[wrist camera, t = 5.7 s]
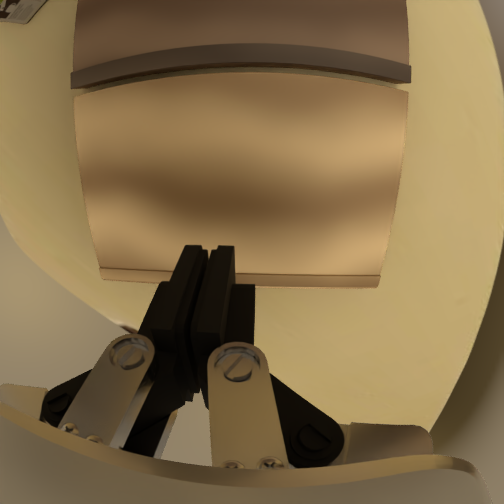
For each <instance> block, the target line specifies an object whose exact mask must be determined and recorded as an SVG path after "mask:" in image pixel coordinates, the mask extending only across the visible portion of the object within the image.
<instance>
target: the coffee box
mask: <svg viewBox="0 0 504 504" xmlns="http://www.w3.org/2000/svg"><path fill="white" fill-rule="evenodd" d="M45 1H46V0H0V21H1V22H13V23H20V24H26V23H27V22H28V21H29V20H30V19H31V17H32V16H33V15H34V14H35V13H36V11H37V10H38V9H39V8H40V7H41V6H42V5H43V3H44V2H45Z"/></svg>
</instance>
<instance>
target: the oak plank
mask: <svg viewBox="0 0 504 504" xmlns="http://www.w3.org/2000/svg"><path fill="white" fill-rule="evenodd" d="M73 98H74V120H75V133H76V144H77V153H78V162H79V169H80V176H81V183H82V189H83V195H84V200H85V206H86V211H87V216H88V221H89V225H90V230H91V234H92V238H93V243H94V247H95V251H96V255H97V258H98V262H99V266H100V268H99V270H100V274H101V277H102V279H103V280H112V281H127V282H142V283H159V284H160V282H161V281H169V280H170V278H171V276H172V273H173V271H174V269H175V266H176V264H177V262H178V260H179V257H180V255H181V253H182V251H183V249H184V246H185V245H202V248H203V249H207V250H208V256H209V257H210V253H211V250H212V249H217V247H218V245H229V246H234V247H235V276H236V284H255V287H257V288H376V287H378V284H379V281H380V277H381V276H380V273H381V269H382V265H383V261H384V258H385V253H386V249H387V245H388V241H389V236H390V232H391V227H392V222H393V217H394V212H395V207H396V201H397V196H398V190H399V184H400V177H401V170H402V163H403V155H404V146H405V136H406V125H407V111H408V92H407V91H403V90H398V89H394V88H390V87H385V86H381V85H376V84H371V83H365V82H359V81H354V80H347V79H340V78H333V77H325V76H315V75H305V74H291V73H269V72H231V73H209V74H195V75H184V76H175V77H167V78H159V79H153V80H146V81H140V82H135V83H129V84H124V85H119V86H115V87H110V88H106V89H101V90H97V91H93V92H89V93H86V94H82V95H79V96H75V97H73Z"/></svg>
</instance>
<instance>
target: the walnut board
mask: <svg viewBox="0 0 504 504" xmlns="http://www.w3.org/2000/svg"><path fill="white" fill-rule="evenodd" d="M217 67H284V68H299V69H311V70H320V71H329V72H337V73H344V74H350V75H356V76H362V77H367V78H372V79H377V80H382V81H387V82H391V83H395V84H403V83H411V66H410V65H409V35H408V18H407V6H406V0H78V4H77V13H76V22H75V34H74V52H73V72H72V73H71V89H81V88H90V87H94V86H97V85H101V84H105V83H110V82H114V81H119V80H123V79H128V78H133V77H139V76H145V75H151V74H157V73H164V72H172V71H180V70H190V69H201V68H217Z"/></svg>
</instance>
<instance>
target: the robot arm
mask: <svg viewBox="0 0 504 504" xmlns="http://www.w3.org/2000/svg"><path fill="white" fill-rule="evenodd" d="M254 324H255V284H236V276H235V247H234V246H229V245H218V247H217V249H212V250H211V253H210V257H209V256H208V250H207V249H203V248H202V245H185V246H184V249H183V251H182V253H181V255H180V257H179V260H178V262H177V264H176V266H175V269H174V271H173V273H172V276H171V278H170V280H169V281H161V282H160V284H159V286H158V288H157V290H156V292H155V294H154V297H153V299H152V301H151V303H150V306H149V308H148V310H147V312H146V315H145V317H144V319H143V322H142V324H141V326H140V329H139V331H138V333H137V334H125V335H123V336H120V337H118V338H116V339H115V340H113V341H112V342H111V343H110V344H109V345H108V346H107V348H106V349H105V351H104V352H103V354H102V355H101V357H100V358H99V360H98V361H97V363H96V364H95V366H94V368H93V369H91V370H89V371H87V372H85V373H83V374H81V375H79V376H77V377H75V378H73V379H71V380H69V381H67V382H65V383H62V384H60V385H58V386H56V387H54V388H53V389H51V390H50V391H48V390H47V389H46V388H39V387H30V386H22V385H14V384H2V385H1V386H0V504H492V500H491V497H490V493H489V491H488V488H487V485H486V483H485V480H484V479H483V476H482V475H481V473H480V472H479V471H478V469H477V468H476V467H475V466H474V465H473V464H472V463H470V462H468V461H466V460H464V459H460V458H456V457H452V456H444V455H433V443H432V438H431V436H430V434H429V433H428V431H427V430H426V429H424V428H422V427H421V426H416V425H389V424H369V423H355V422H351V424H350V425H346V424H338V423H337V422H336V421H334V420H333V419H332V418H331V417H329V416H328V415H326V414H325V413H323V412H322V411H321V410H319V409H318V408H316V407H315V406H313V405H312V404H311V403H309V402H308V401H307V400H305V399H304V398H302V397H301V396H300V395H298V394H297V393H296V392H294V391H293V390H292V389H290V388H289V387H288V386H286V385H285V384H284V383H282V382H281V381H280V380H278V379H277V378H276V377H275V376H273V375H272V374H271V373H269V368H268V363H267V360H266V357H265V355H264V353H263V352H262V351H261V350H260V349H259V348H257V347H255V346H254ZM200 388H201V391H202V395H203V399H204V402H205V406H206V408H207V409H208V410H209V420H210V439H211V455H212V467H211V466H200V465H194V464H186V463H179V462H173V461H168V460H162V459H160V458H161V456H162V453H163V451H164V448H165V446H166V443H167V440H168V438H169V435H170V433H171V430H172V427H173V425H174V422H175V420H176V417H177V413H178V408H180V407H182V406H183V405H185V401H191V402H192V401H193V396H194V393H199V392H200Z"/></svg>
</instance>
